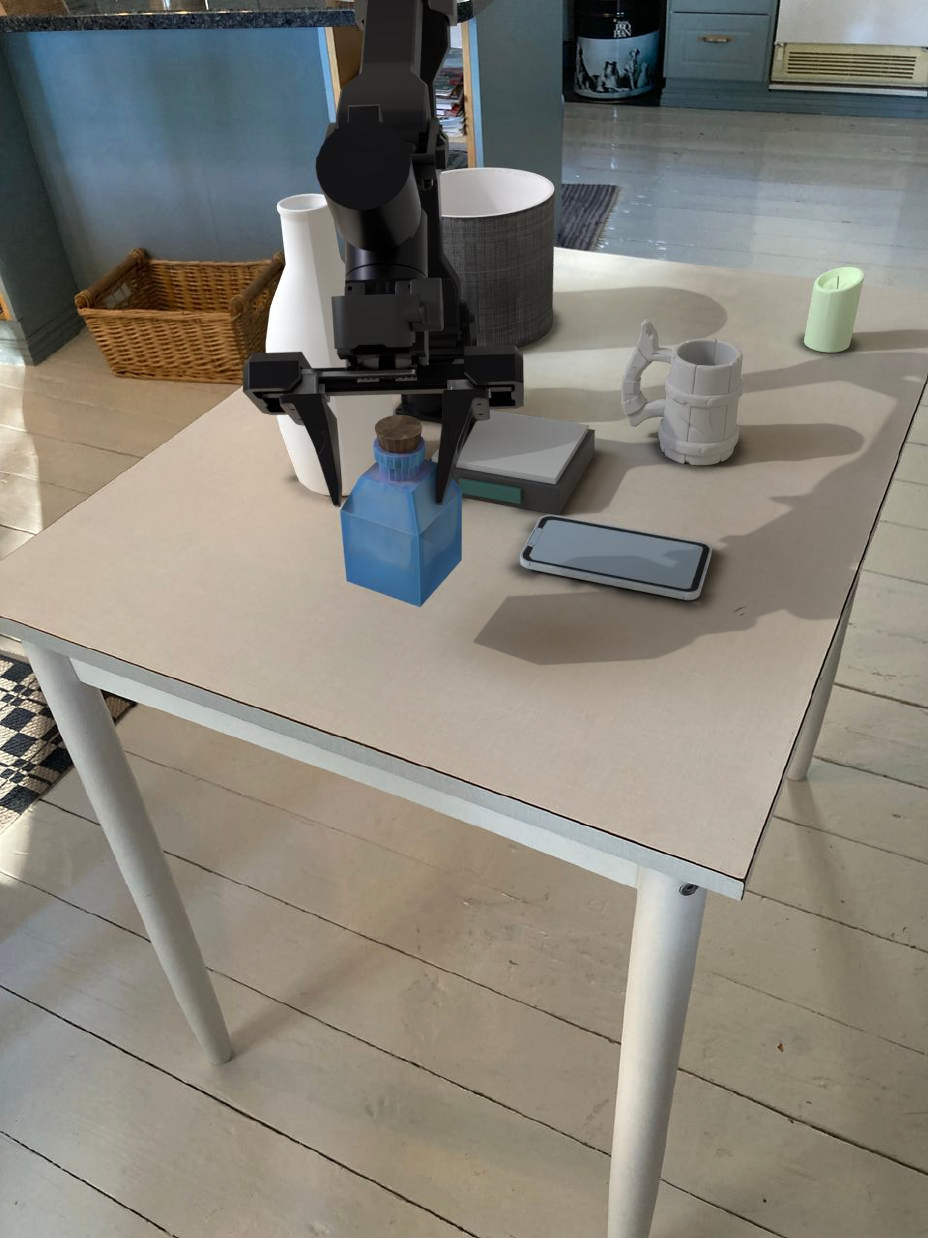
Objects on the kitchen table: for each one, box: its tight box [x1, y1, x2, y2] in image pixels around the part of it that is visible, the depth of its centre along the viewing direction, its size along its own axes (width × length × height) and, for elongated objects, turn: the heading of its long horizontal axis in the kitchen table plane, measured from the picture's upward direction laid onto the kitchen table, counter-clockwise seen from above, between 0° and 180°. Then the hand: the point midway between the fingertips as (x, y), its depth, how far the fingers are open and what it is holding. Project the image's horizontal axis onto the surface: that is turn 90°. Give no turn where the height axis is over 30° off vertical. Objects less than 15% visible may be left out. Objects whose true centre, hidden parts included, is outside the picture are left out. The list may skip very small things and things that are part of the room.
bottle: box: [265, 193, 394, 497], centre depth 88 cm, size 11×11×25 cm
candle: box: [803, 266, 865, 354], centre depth 110 cm, size 5×5×8 cm
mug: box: [620, 318, 744, 466], centre depth 94 cm, size 8×12×12 cm, turn 65°
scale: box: [428, 409, 596, 516], centre depth 94 cm, size 13×11×4 cm
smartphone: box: [519, 514, 713, 601], centre depth 83 cm, size 7×1×15 cm
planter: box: [440, 167, 556, 349], centre depth 117 cm, size 18×18×16 cm
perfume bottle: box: [339, 414, 463, 608], centre depth 69 cm, size 6×6×12 cm
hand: (387, 505), depth 68 cm, fingers closed on perfume bottle, 7 cm apart
